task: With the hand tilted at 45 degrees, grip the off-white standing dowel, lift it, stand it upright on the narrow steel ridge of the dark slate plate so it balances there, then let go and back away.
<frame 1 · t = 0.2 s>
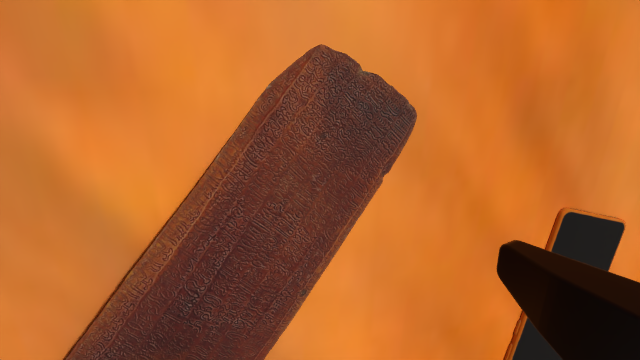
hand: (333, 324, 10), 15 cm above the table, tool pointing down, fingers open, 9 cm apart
smartphone: (551, 306, 36), on the table
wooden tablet: (243, 253, 26), on the table
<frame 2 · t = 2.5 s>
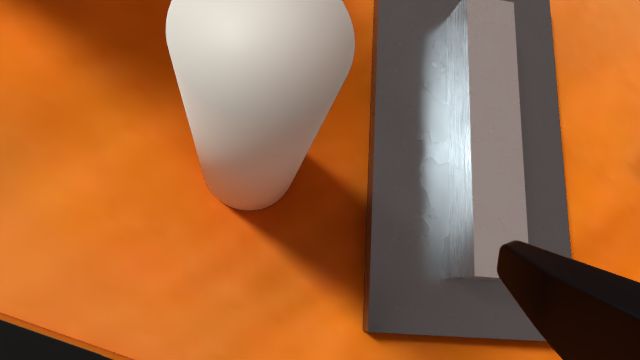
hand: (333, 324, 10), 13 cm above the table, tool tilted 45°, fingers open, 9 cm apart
off-white dowel: (249, 165, 24), on the table
ridge plate: (463, 146, 27), on the table
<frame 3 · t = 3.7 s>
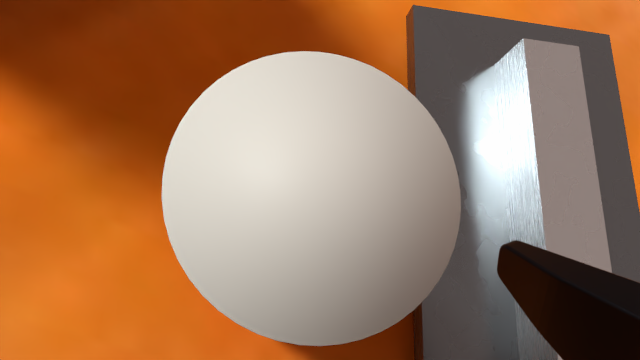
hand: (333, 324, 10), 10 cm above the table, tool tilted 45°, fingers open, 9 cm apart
off-white dowel: (268, 258, 20), on the table
ridge plate: (522, 217, 22), on the table
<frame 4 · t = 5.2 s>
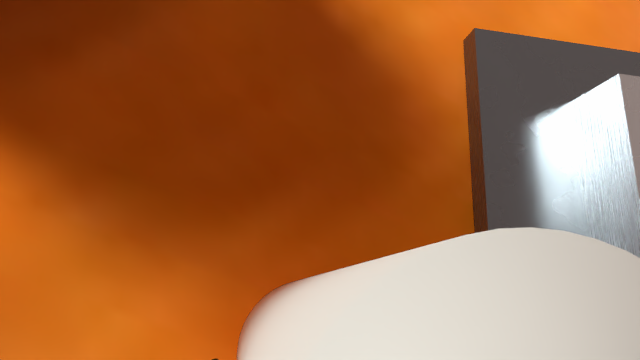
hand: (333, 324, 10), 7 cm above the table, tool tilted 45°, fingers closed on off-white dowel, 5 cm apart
off-white dowel: (307, 351, 16), on the table, touching gripper
ridge plate: (608, 288, 18), on the table
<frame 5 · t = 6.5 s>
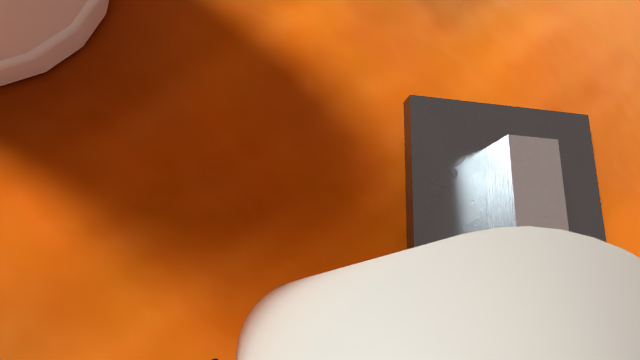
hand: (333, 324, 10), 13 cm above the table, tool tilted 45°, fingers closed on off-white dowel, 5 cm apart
off-white dowel: (307, 351, 16), point 7 cm above the table, touching gripper
ridge plate: (507, 289, 25), on the table
when the fingers open (11 cm above the table, at t = 8.1 s): off-white dowel drops 1 cm, resting on ridge plate.
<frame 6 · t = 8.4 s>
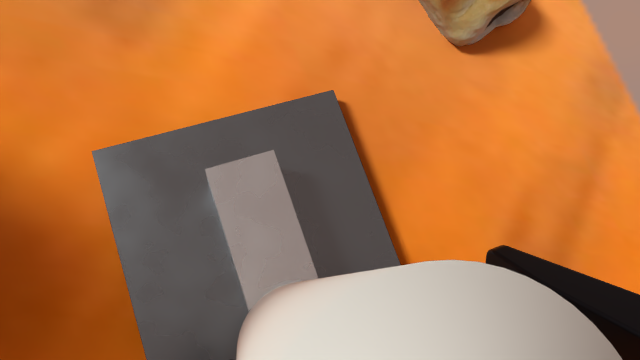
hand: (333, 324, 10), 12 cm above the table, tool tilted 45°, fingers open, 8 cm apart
off-white dowel: (302, 347, 17), point 4 cm above the table, touching ridge plate
ridge plate: (291, 338, 20), on the table
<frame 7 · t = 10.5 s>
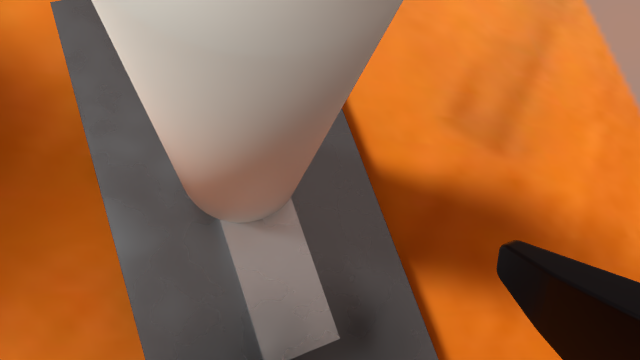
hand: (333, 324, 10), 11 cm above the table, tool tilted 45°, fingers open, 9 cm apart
off-white dowel: (241, 163, 18), point 3 cm above the table, touching ridge plate
ridge plate: (240, 182, 22), on the table
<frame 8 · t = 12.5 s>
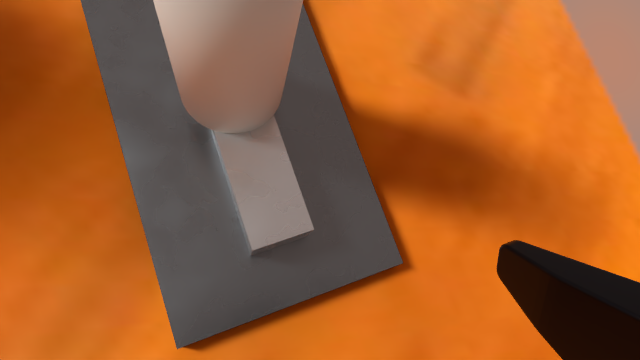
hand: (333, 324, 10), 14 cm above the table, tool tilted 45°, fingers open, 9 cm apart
off-white dowel: (231, 86, 21), point 3 cm above the table, touching ridge plate
ridge plate: (232, 113, 25), on the table
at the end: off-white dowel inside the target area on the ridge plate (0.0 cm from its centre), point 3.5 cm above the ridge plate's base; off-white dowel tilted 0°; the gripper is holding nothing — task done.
